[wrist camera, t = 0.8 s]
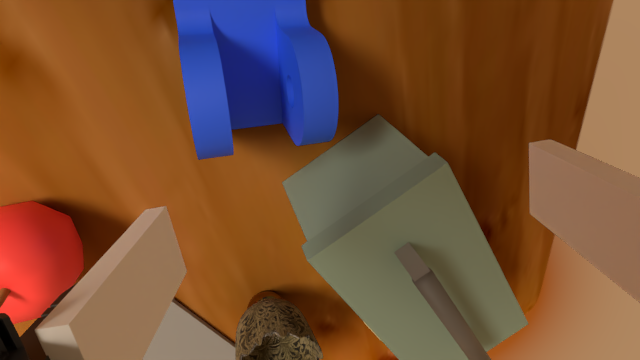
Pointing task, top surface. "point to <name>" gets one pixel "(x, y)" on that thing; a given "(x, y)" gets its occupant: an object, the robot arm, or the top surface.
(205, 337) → the rubber mat
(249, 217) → the top surface
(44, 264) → the apple
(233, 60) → the bracket
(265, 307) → the cup
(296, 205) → the toolbox
